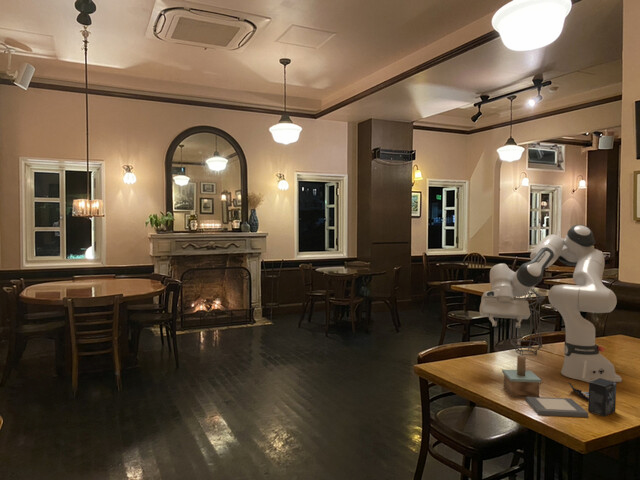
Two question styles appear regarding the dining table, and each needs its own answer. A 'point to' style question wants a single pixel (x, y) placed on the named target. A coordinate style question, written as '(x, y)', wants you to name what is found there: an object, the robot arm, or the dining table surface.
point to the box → (602, 397)
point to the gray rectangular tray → (556, 406)
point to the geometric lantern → (530, 325)
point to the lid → (521, 372)
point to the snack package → (580, 392)
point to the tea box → (521, 388)
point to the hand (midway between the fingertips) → (506, 326)
